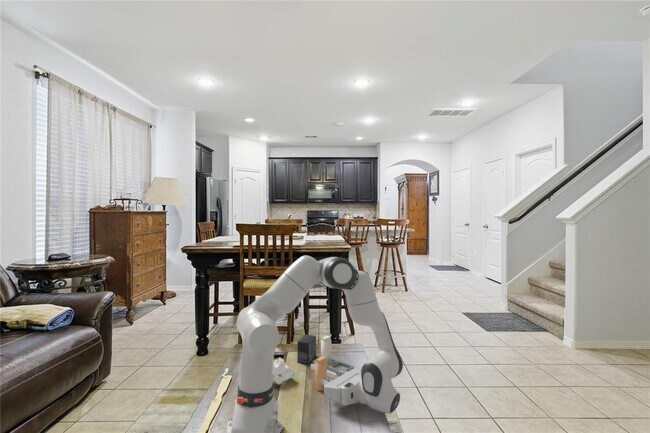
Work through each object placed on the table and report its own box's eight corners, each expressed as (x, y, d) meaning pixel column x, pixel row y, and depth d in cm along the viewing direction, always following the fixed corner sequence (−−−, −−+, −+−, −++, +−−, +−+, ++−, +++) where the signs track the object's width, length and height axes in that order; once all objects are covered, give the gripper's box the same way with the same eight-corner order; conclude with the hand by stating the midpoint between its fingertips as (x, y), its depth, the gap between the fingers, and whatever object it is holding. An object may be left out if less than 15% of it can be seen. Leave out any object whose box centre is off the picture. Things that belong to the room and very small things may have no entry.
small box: (304, 354, 180) (304, 333, 180) (316, 356, 178) (316, 335, 178) (296, 362, 170) (296, 341, 170) (309, 364, 168) (309, 342, 168)
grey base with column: (356, 373, 160) (356, 341, 159) (340, 381, 151) (341, 348, 151) (326, 361, 171) (326, 331, 171) (310, 368, 163) (311, 337, 163)
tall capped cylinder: (329, 388, 146) (329, 358, 146) (321, 392, 142) (321, 361, 142) (320, 384, 149) (320, 354, 149) (312, 388, 145) (313, 358, 145)
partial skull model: (290, 381, 145) (274, 363, 146) (276, 394, 146) (260, 377, 148) (299, 369, 156) (284, 352, 158) (285, 381, 158) (271, 365, 159)
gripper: (373, 370, 141) (345, 360, 150) (342, 390, 126) (313, 377, 134) (373, 386, 141) (345, 375, 150) (342, 407, 126) (313, 394, 135)
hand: (330, 376), depth 142 cm, fingers open, 8 cm apart
